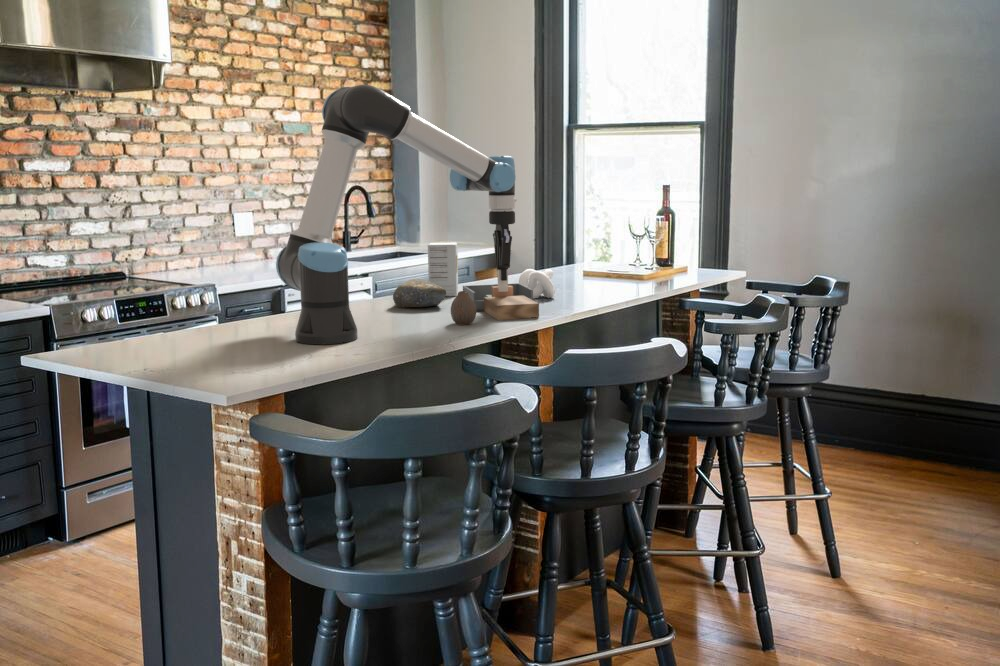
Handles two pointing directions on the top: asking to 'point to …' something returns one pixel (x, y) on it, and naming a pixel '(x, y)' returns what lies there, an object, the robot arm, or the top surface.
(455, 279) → the supplement box
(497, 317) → the wooden block
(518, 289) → the box
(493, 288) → the tile
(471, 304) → the vase
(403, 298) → the stone
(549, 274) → the white knot sculpture
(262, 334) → the top surface
